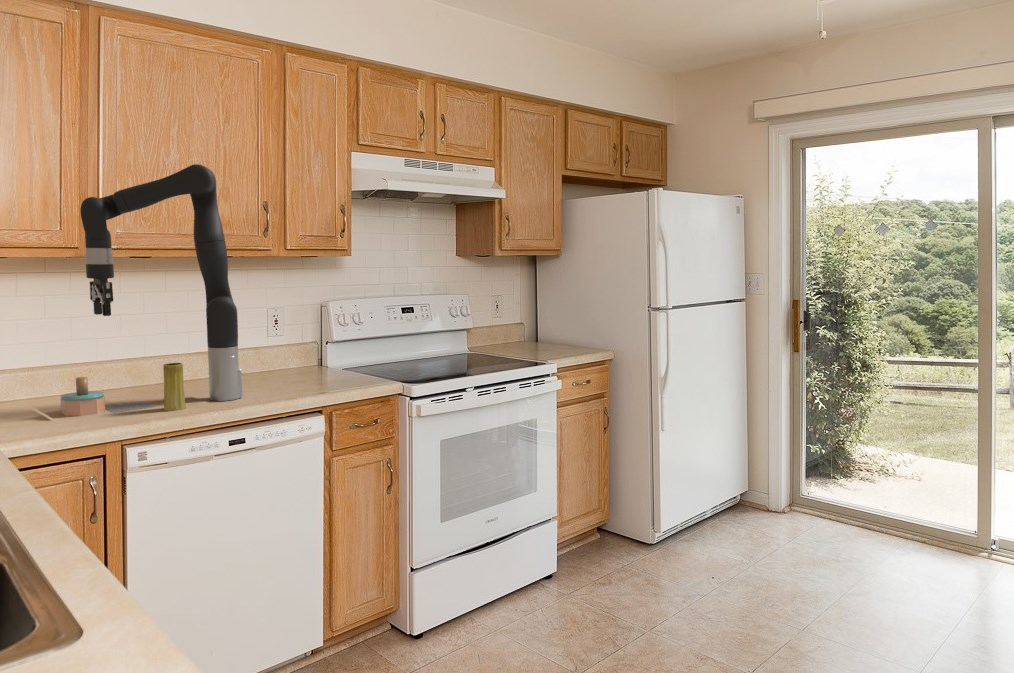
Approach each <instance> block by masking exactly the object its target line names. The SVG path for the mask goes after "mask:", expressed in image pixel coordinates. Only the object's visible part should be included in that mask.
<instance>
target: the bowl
mask: <svg viewBox="0 0 1014 673" xmlns="http://www.w3.org/2000/svg"><path fill="white" fill-rule="evenodd" d="M105 406H106V397H105V395H104V396H103V397H101V398H97V399H91V400H82V401H64V400H61V399H60V411H61V415H63V416H65V417H83V416H91V415H97V414H101V413H103V412H105V411H106V409H105Z"/></svg>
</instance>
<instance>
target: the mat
mask: <svg viewBox="0 0 1014 673" xmlns="http://www.w3.org/2000/svg"><path fill="white" fill-rule="evenodd" d="M149 408H151V409H152V408H156V406H155V405H152V404H150V403H147V402H145V401H135V402H126V403H119V404H112V405H110V404H109V405H105V411H106V410H107V411H109V412H111V413H120V412H129V411H136V410H143V409H144V410H145V409H149Z"/></svg>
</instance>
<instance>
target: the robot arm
mask: <svg viewBox="0 0 1014 673" xmlns="http://www.w3.org/2000/svg"><path fill="white" fill-rule="evenodd" d="M217 193H218V192H217V180H216V175H215V173H214V172H213V171H212V170H211V169H209V168H208V167H206V166H205V165H202V164H196V163H195V164H191V165H189V166H187V167H185V168H183V169H181V170H179V171H176V172H174V173H172V174H170V175H168V176H165V177H163V178H159V179H156V180H153V181H149V182H144V183H142V184H137V185H133V186H130V187H127V188H123V189H119V190H118V191H115V192H114V193H113V194H110V195H107V196H106V195H105V196H104V197H94V196H90V197H87V198H85V199H84V200H83V201H82V202H81V205H80V218H81V221H82V222H81V224H82V227H83V231H84V234H85V235H84V237H85V238H84V241H85V255H84V256H85V257H84V258H85V273H86V275H85V276H86V278H87V279H91V280H92V279H93V281H91V280H90V281H89V299H90V301H92V303H93V314H94V315H102V316H103V317H109V316H111V315H112V309H111V308H112V307H111V304H112V302H114V291H113V282H112V281H109V280H108V279H114V278H115V274H114V273H115V271H114V269H115V268H114V256H113V254H114V253H113V248H112V236H111V231H110V230H108V226H107V225H108V224H107V221H109V220H111V219H113V218H117V217H119V216H121V215H123V214H127V213H130V212H134V211H139V210H141V209H144V208H148V207H151V206H153V205H155V204H158V203H160V202H164V200H167V199H170V198H175V197H178V196H183V195H190V198H191V203H192V207H193V215H194V216H193V218H194V219H193V243H194V248H195V254H196V258H197V263H198V265H199V266H198V267H199V270H200V272H201V276H202V279H203V281H204V289H205V299H206V300H205V303H206V308H205V310H206V311H205V313H206V314H205V315H206V317H205V318H206V337H207V338H206V339H207V341H206V342H207V359H208V363H207V364H208V383H209V384H208V387H209V388H208V389H209V400H210V401H213V402H214V401H216V402H219V401H220V402H223V401H226V402H227V401H233V400H237V399H240V398H241V399H242V398H243V378H242V375H243V374H242V369H241V368H240V366H239V364H240V362H239V325H238V324H239V322H238V309H237V305H236V304H235V303H234V302H235V301H234V299H233V296H232V292H231V288H230V283H229V263H228V252H227V251H228V250H227V249H228V248H227V244H226V239H225V234H224V229H223V225H222V221H221V217H220V214H219V208H218V197H217V196H218V195H217Z"/></svg>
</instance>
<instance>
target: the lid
mask: <svg viewBox="0 0 1014 673" xmlns="http://www.w3.org/2000/svg"><path fill="white" fill-rule="evenodd" d="M88 380H89V379H88V376H79V377H75V387H76V388H75V389H76V390H75V391H76V392H68V393H65V394H62V395H61V396H60V401H61V400H64V401H82V400H91V399H97V398H101V397H103V396H105V393H104V392H103V391H96V390H95V391H92V390H91V391H89V384H88V383H89V382H88Z"/></svg>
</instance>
